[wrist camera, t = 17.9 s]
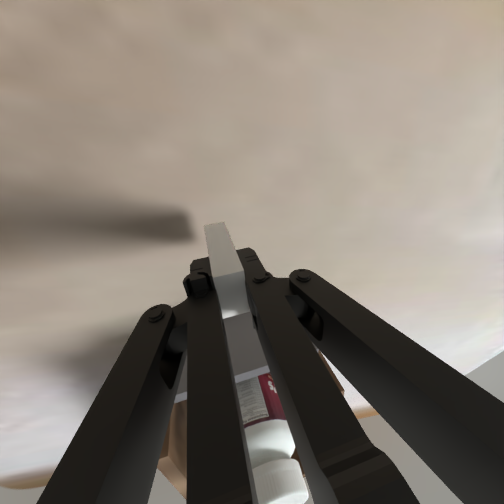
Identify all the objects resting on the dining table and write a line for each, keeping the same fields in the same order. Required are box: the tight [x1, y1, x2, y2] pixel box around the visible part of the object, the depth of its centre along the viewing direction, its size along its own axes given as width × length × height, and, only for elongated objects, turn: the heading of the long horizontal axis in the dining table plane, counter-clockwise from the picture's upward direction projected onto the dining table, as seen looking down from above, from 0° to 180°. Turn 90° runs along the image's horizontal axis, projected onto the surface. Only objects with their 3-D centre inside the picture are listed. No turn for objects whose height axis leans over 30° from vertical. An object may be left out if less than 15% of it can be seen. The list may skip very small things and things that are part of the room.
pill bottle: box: [236, 372, 308, 504], centre depth 19 cm, size 6×6×11 cm
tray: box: [174, 310, 319, 404], centre depth 23 cm, size 16×13×6 cm
